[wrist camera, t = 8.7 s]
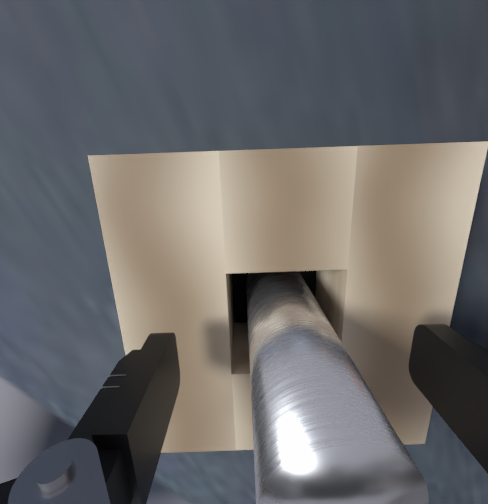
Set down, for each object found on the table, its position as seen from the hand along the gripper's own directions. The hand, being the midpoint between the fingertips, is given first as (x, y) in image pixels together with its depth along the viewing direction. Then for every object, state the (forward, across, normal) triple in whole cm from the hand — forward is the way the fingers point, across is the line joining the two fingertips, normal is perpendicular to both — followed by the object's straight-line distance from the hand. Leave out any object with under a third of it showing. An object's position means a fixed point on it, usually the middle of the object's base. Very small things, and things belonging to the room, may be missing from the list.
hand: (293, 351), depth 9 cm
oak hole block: (+6, 0, 0) cm, 6 cm away
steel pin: (+6, 0, 0) cm, 6 cm away
